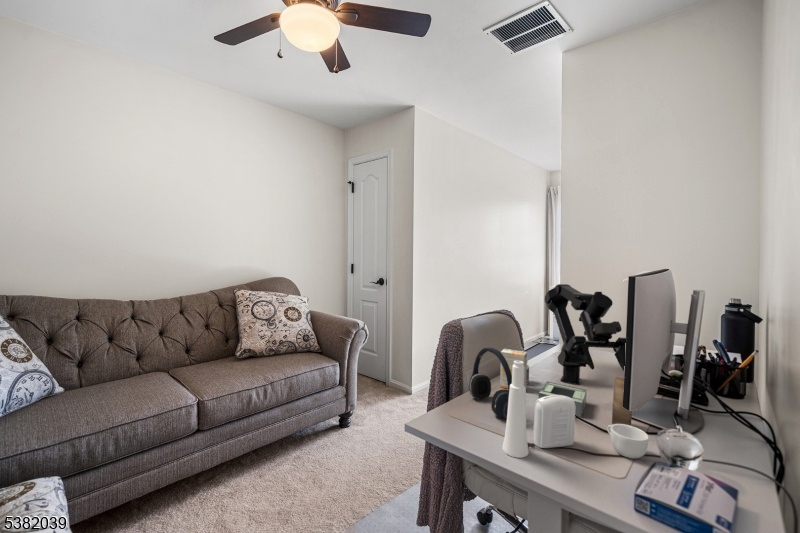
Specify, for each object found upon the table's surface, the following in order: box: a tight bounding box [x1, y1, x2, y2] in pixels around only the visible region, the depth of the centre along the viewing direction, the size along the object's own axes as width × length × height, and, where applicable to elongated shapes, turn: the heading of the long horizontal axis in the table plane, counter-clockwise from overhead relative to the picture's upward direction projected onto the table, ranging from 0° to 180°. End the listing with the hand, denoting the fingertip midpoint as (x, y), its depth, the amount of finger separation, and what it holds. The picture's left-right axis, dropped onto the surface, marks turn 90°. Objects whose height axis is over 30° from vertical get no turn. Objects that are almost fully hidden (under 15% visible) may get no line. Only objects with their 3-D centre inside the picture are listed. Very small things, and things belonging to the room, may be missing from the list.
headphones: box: [468, 347, 512, 419], centre depth 109 cm, size 20×7×18 cm, turn 18°
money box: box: [538, 381, 587, 419], centre depth 112 cm, size 12×12×4 cm
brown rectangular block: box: [611, 376, 633, 426], centre depth 100 cm, size 5×5×13 cm
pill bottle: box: [526, 364, 530, 385], centre depth 131 cm, size 5×5×9 cm
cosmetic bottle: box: [501, 360, 529, 459], centre depth 85 cm, size 6×6×22 cm
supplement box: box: [499, 348, 528, 390], centre depth 126 cm, size 8×5×13 cm, turn 58°
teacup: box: [606, 424, 649, 460], centre depth 87 cm, size 10×8×5 cm
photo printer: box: [532, 395, 576, 449], centre depth 89 cm, size 10×4×12 cm, turn 103°
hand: (608, 369), depth 108 cm, fingers open, 9 cm apart
